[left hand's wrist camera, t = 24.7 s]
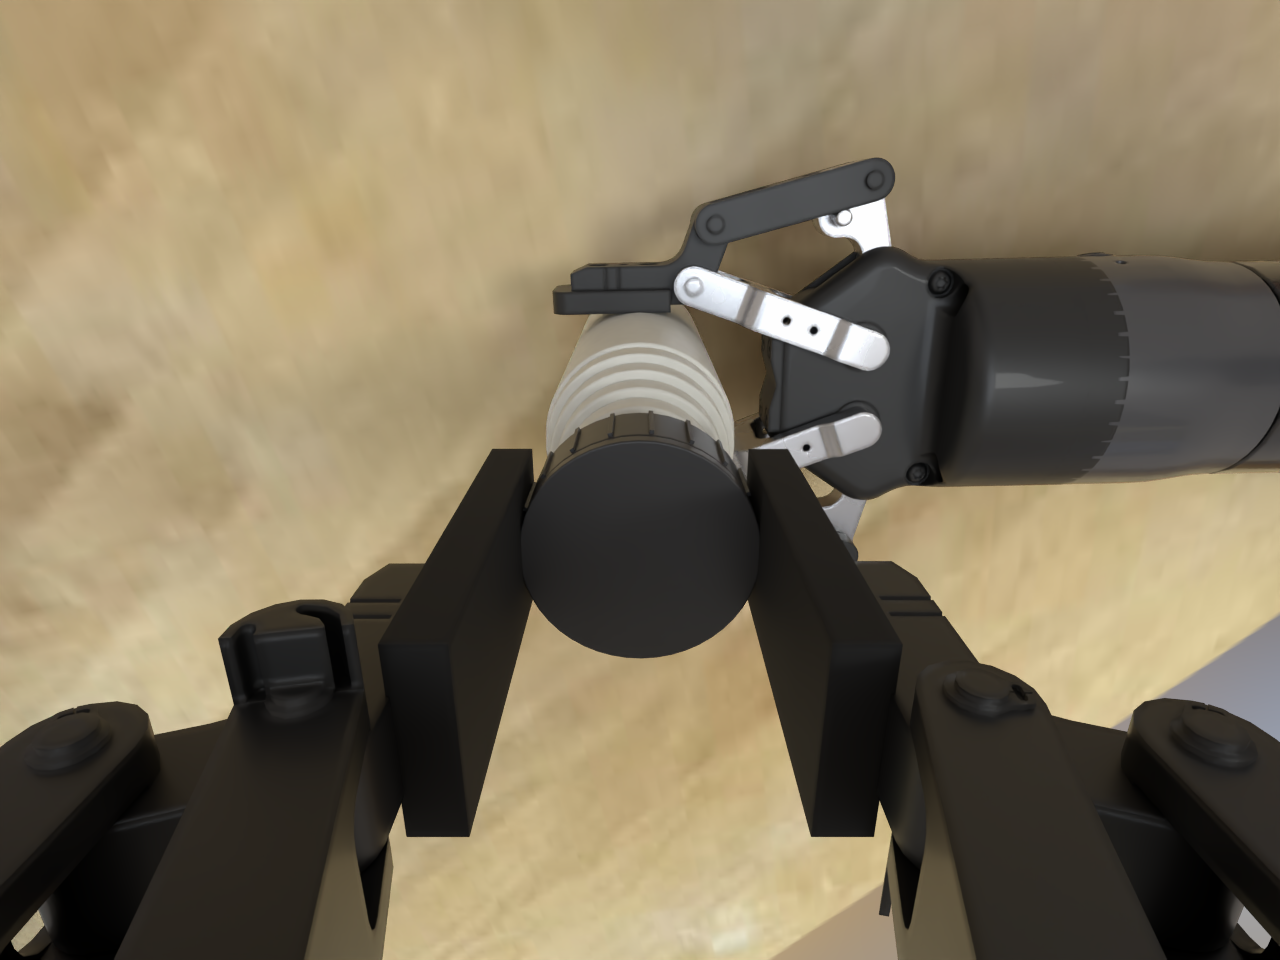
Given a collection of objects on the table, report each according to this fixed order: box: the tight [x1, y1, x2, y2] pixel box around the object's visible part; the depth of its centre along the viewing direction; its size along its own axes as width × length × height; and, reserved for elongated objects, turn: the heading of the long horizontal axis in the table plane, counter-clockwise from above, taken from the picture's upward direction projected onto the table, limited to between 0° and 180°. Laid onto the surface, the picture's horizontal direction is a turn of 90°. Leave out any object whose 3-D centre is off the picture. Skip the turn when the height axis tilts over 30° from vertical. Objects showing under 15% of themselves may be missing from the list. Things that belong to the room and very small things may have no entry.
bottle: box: [546, 305, 734, 459], centre depth 22 cm, size 5×5×18 cm
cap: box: [521, 410, 760, 658], centre depth 13 cm, size 4×4×2 cm
